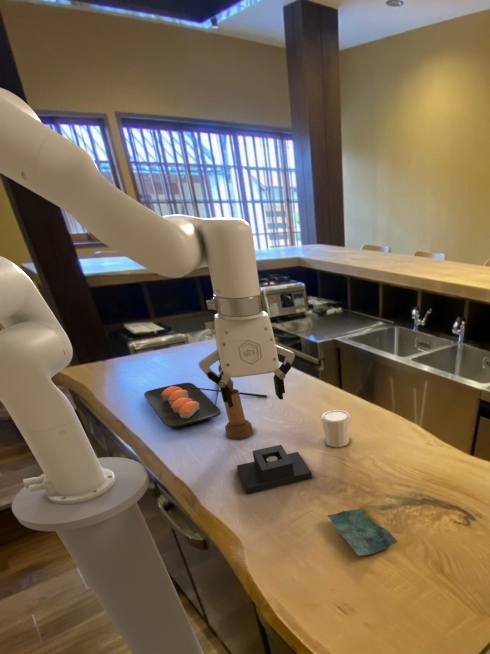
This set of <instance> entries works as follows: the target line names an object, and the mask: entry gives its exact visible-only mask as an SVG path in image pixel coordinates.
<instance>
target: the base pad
mask: <svg viewBox="0 0 490 654" xmlns="http://www.w3.org/2000/svg"><path fill="white" fill-rule="evenodd" d="M287 455H288V457H289V458H290V460H291V462H292V463H293V469H294V475H293V476H289V477H285V478H281V479H277V480H273V481H269V482H264V481H263V479H262V477H261V475H260V472H259V470H258V468H257V466H256V464H255V462H254V461H250V462H246V463H241V464H237V465H236V469H237V472H238V474H239V477H240V480H241V481H242V485H243V486H244V489H245V491H246V494H247V495H250V494H253V493H258V492H262V491H266V490H269V489H274V488H278V487H282V486H285V485H291V484H294V483H298V482H301V481H306V480H310V479H312V478H313V473H312V471H311V470H310V468H309V466H308V464H307V463H306V462H305V460H304V459H303V457H302V455H301V454H300V453H299V451H295V452H290V453H287ZM276 460H278V458H277V457H275V456H270V457H268V458H267V459H266V461H267V462H272V461H276Z"/></svg>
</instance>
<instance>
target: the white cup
mask: <svg viewBox="0 0 490 654" xmlns="http://www.w3.org/2000/svg"><path fill="white" fill-rule="evenodd" d="M321 422H322V428H323V433H324V438H325V443H326V444H327V446H329V447H331V448H341V447H346V446H347V445H348V444H349V443H350V426H351V425H350V422H351V414H350V413H349V412H347V411H346V410H340V409H333V410H328V411H326V412H324V413H322V414H321Z"/></svg>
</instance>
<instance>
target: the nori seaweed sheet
mask: <svg viewBox="0 0 490 654" xmlns="http://www.w3.org/2000/svg"><path fill="white" fill-rule="evenodd" d="M326 516H327V518H328V519H329V520H330V521H331V522H332V524H333V525H334V526H335V528H336V529H337V530H338V532H339V533H340V535H341V536H342V538H344V540H345V541H346V542H347V543H348V544H349V546H350V547H351V549H352V550H353V551H354V553H356V554H357V556H358V557H360V556H369V555H373V554H377V553H379V552H381V551H384V550H385V549H387V548H389V547H391V546H392V545H395V544H396V543H399V541H398V540H397V539H396V538H395V536H393V534H392V533H391V532H390V531H389V530H388V529H386V528H385V527H383V526H381V525H377V524H376V523H375V522H374V520H372V518H371V517H369V515H367V514H366V512H365V511H364V510H363V509H362V508H360V509H359V508H357V509H348V510H343V511H340V512H337V513H333V514H327V515H326Z"/></svg>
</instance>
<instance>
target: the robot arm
mask: <svg viewBox="0 0 490 654" xmlns="http://www.w3.org/2000/svg"><path fill="white" fill-rule="evenodd" d="M0 174H1V175H3V176H5V177H6V178H8V179H10V180H12V181H13V182H15V183H17V184H19V185H21V186H22V187H24V188H26V189H28V190H30V191H31V192H33V193H35V194H36V195H38V196H40V197H42V198H43V199H44V200H47V201H48V202H50V203H51V204H53V205H55V206H57V207H58V208H60V209H62V210H64V211H65V212H67V213H68V214H70V215H71V217H72V218H73V219H74V220H75V221H76V222H77V223H78V224H79V225H81V226H82V227H83V228H85V230H87V231H88V232H89V233H90V234H91V235H92V236H94V237H95V238H96V239H97V240H98V241H100V242H101V243H103V244H104V245H105V246H107V247H108V248H110V249H112V250H114V251H115V252H116V253H118V254H120V255H122V256H124V257H126V258H128V259H129V260H131V261H133V262H134V263H137V264H138V265H140V266H141V267H144V268H145V269H147V270H149V271H151V272H153V273H155V274H157V275H160V276H163V277H167V278H173V279H176V278H177V279H178V278H182V277H184V276H187V275H188V274H190V273H191V272H193V271H195V270H198V269H201V268H207V267H208V271H209V276H210V282H211V287H212V291H213V297H212V298H211V299H210V300H209V299H208V300H207V299H206V300H205V303H206V308H207V310H213V311H215V312H217V313H216V314H214V316H213V317H214V321H213V322H214V337H215V345H216V349H215V350H214V351H213V352H211V353H210V354H209V355H207V356H206V357H204V358H203V359H201V360H200V361H199V362H198V363H197V364H198V367H199V368H200V370H201V371H202V372H203V374H204V375H206V377H207V379H209V380H210V381H211V382H213V383H215V384H216V385H217V384H218V385H219V390H221V392H220V393H221V398H222V401H223V403H224V402H227V403H228V406H229V408H230V407H232V406H233V403H232V398H231V393H230V388H229V386H228V384H227V383H228V381H229V379H230V378H231V379H232V378H244V377H251V376H259V375H265V374H271V373H273V376H272V378H273V385H274V393H275V395H276V397H277V399H279V400H284V394H286V387H285V381H284V380H285V378H286V375H287V374H289V371H290V370H291V369H292V365H293V363H294V360H295V358H296V354H295V352H294V351H292V350H290V349H287V348H285V347H282V346H280V345H278V344H276V337H275V335H274V330H273V325H272V322H271V319H270V316H269V314H268V312H266V311H264V310H263V309H264V308H263V302H262V295H261V288H260V280H259V273H258V265H257V258H256V257H257V256H256V251H255V243H254V236H253V235H254V234H253V231H252V227H251V225H250V224H249V222H247V221H246V220H244V219H242V218H238V217H237V218H236V217H211V218H203V217H198V216H191V215H187V214H180V213H179V214H169V215H160V214H159V213H157V212H155V211H154V210H152V209H150V208H149V207H147V206H145V205H144V204H142V203H141V202H139V201H138V200H136V199H134V198H133V197H132V196H130V195H128V194H127V193H125V192H124V191H122V190H121V189H119V188H118V187H117V186H115V185H114V184H113V183H112V182H111V181H109V180H108V179H107V178H106V177H105V176H104V175H103V174H102V172H101V171H100V170H99V168H98V166H97V164H96V162H95V160H94V157H92V155H91V154H90V153H89V152H88V151H86V150H85V149H84V148H82V147H81V146H80V145H78V144H76V143H75V142H73V141H71V140H70V139H68V138H67V137H65V136H63V135H61V133H59V132H57V131H56V130H54V129H53V128H51V127H50V126H47V125H46V124H44V123H43V122H42V121H41V119H40V118H39V116H38V115H37V113H36V112H35V111H34V109H32V107H31V106H30V105H29V104H28V103H26V101H24V100H23V99H22V98H21V97H19V96H18V95H16V94H15V93H13V92H11V91H9V90H8V89H5V88H2V87H0ZM38 289H39V288H37V286H36V285H35V283H34V282H33V281H32V279H31V278H30V277H29V276H28V275H27V274H26V272H24V271H23V269H21V268H20V267H19V266H18V265H16V264H15V263H14V262H12V261H11V260H10V259H8V258H6V257H3V256H2V255H0V324H1V326H2V327H3V328H2V329H0V402H1V403H2V405H3V406H4V408H5V409H6V411H7V412H8V415H9V416H10V417H11V419H12V421H13V422H14V424H15V426H16V428H17V429H18V431H19V432H20V434H21V435H22V437H23V439H24V441H25V443H26V445H27V446H28V447H29V448H28V449H29V450H30V451H31V453H32V454H33V455H32V456H34V458H35V460H36V461H37V464H38V465H39V467H40V469H41V470H42V472H43V473H42V474H40V476H41V477H39V476H36V477H29V478H24V479H22V483H23V487H26V488H29V489H30V491H31V492H35V491H39V490H43V489H45V490H46V495H47V497H48V499H49V500H50V501H52V502H54V503H58V504H75V503H80V502H84V501H88V500H91V499H93V498H96V497H98V496H100V495H102V494H103V493H105V492H107V491H108V490H109V489H110V488H111V487H112V486H113V485H114V483H115V476H114V474H113V472H112V471H110V470H108V469H105V468H102V467H101V465H100V463H99V461H98V459H97V458H98V457H97V455H96V453H95V451H94V449H93V446H92V444H91V441H90V440H89V437H88V436H87V433H86V431H85V430H84V427H83V425H82V422H81V420H80V419H79V417H78V415H77V413H76V411H75V409H74V407H73V405H72V402H71V401H70V400H69V398H68V397H67V396H66V394H65V393H64V392H63V391H61V389H59V388H58V386H56V385H55V383H54V382H53V380H52V378H53V377H55V375H57V374H58V373H60V372H61V371H63V370H64V369H65V368H66V367H68V365H69V364H70V363H71V362H72V359H73V355H74V352H73V346H72V343H71V340H70V338H69V336H68V335H67V332H66V331H65V330H64V328H63V326H62V325H61V324H60V321H59V320H58V319H57V317H56V316H55V314H54V313H53V311H52V309H51V308H50V307H49V305H48V303H47V301H46V300H45V299H44V297H43V295H42V294H41V292H40V291H39V290H38ZM279 355H280V356H283V357H285V358H284V361H283V362H282V364H281V365H280V360H279ZM217 362H219V365H220V366H221V368H222V370H221V372H219V374H217V373H216V372H214V371H213V370H212V369H211V366H212V365H214V364H215V363H217Z"/></svg>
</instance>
